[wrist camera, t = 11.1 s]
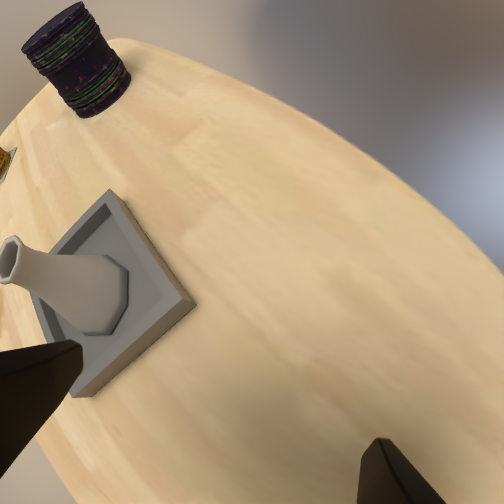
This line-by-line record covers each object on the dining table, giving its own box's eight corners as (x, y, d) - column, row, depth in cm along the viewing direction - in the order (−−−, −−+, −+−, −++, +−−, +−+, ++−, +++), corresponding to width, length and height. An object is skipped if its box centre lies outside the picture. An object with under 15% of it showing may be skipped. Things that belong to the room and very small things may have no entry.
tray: (91, 396, 21) (72, 397, 19) (42, 287, 26) (26, 280, 24) (196, 304, 22) (182, 298, 20) (123, 201, 27) (109, 188, 25)
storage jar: (74, 101, 38) (24, 41, 24) (123, 64, 38) (80, -2, 24) (80, 130, 34) (16, 59, 20) (139, 86, 34) (85, 4, 20)
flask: (62, 324, 23) (-26, 299, 14) (82, 250, 25) (4, 204, 16) (118, 349, 21) (17, 332, 12) (140, 262, 23) (54, 207, 14)
